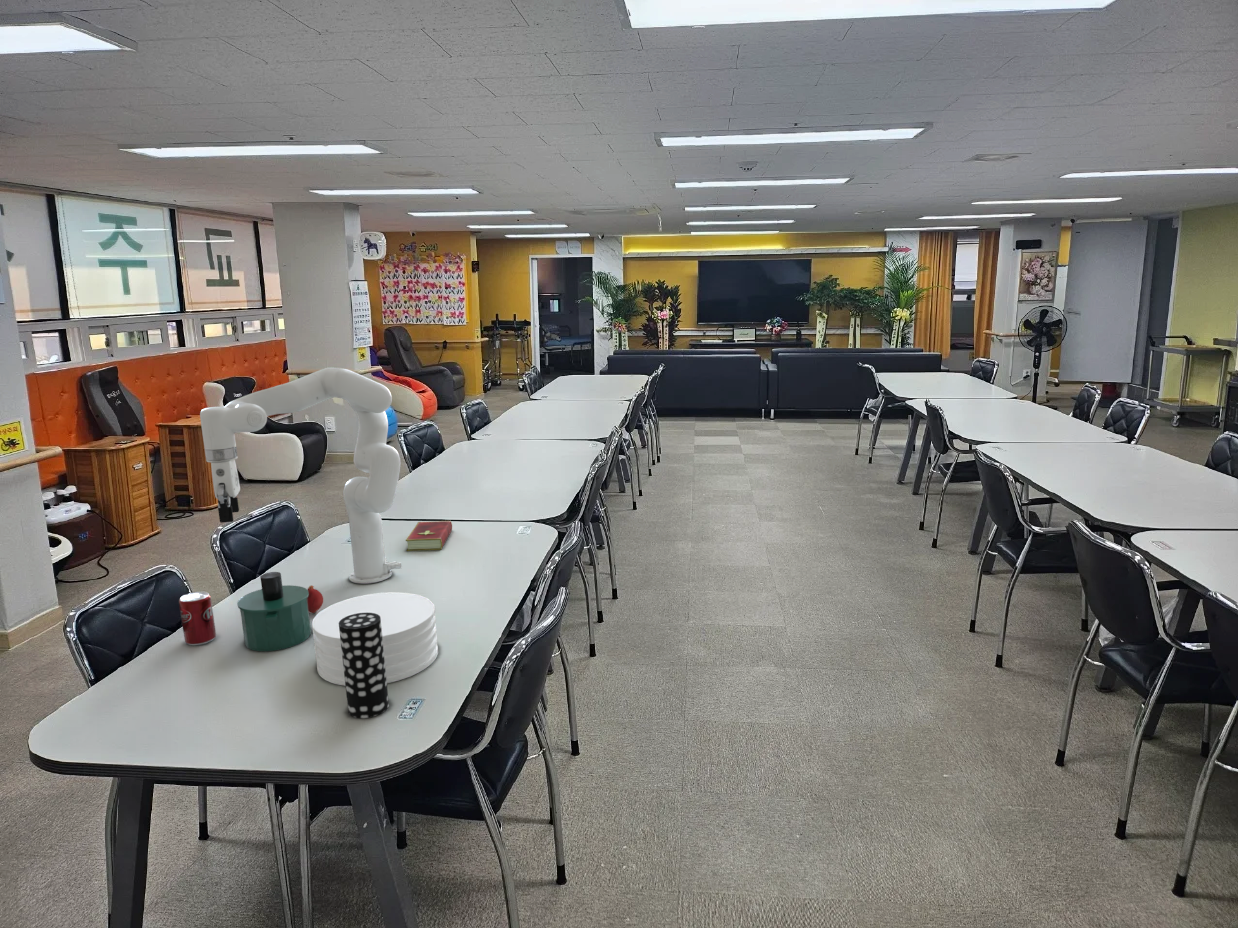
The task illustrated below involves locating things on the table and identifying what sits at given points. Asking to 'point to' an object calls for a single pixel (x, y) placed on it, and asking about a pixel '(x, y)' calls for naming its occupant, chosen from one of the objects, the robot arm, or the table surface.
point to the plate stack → (402, 634)
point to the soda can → (197, 618)
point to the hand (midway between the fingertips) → (229, 516)
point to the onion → (314, 599)
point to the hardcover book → (429, 535)
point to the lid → (272, 595)
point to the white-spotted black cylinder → (364, 664)
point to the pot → (276, 628)
